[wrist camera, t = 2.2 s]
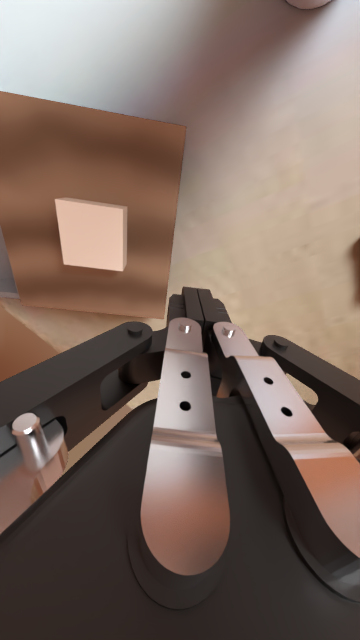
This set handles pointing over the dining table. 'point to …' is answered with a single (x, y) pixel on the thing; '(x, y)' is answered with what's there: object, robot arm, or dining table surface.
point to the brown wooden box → (92, 185)
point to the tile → (92, 233)
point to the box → (6, 273)
